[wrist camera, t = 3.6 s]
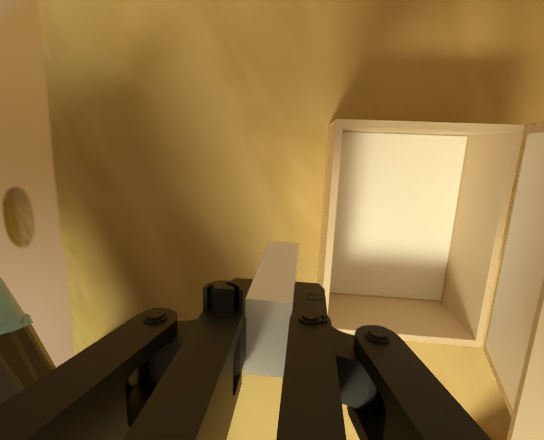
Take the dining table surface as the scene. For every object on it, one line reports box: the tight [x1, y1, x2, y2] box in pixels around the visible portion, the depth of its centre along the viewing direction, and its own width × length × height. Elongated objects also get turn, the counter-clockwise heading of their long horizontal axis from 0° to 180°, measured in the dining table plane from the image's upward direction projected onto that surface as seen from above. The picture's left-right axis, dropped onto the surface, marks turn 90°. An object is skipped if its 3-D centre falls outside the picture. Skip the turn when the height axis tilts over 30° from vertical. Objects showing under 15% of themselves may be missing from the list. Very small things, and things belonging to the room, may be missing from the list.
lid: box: [484, 122, 544, 440], centre depth 18 cm, size 13×16×2 cm
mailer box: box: [318, 119, 525, 347], centre depth 28 cm, size 12×16×7 cm
